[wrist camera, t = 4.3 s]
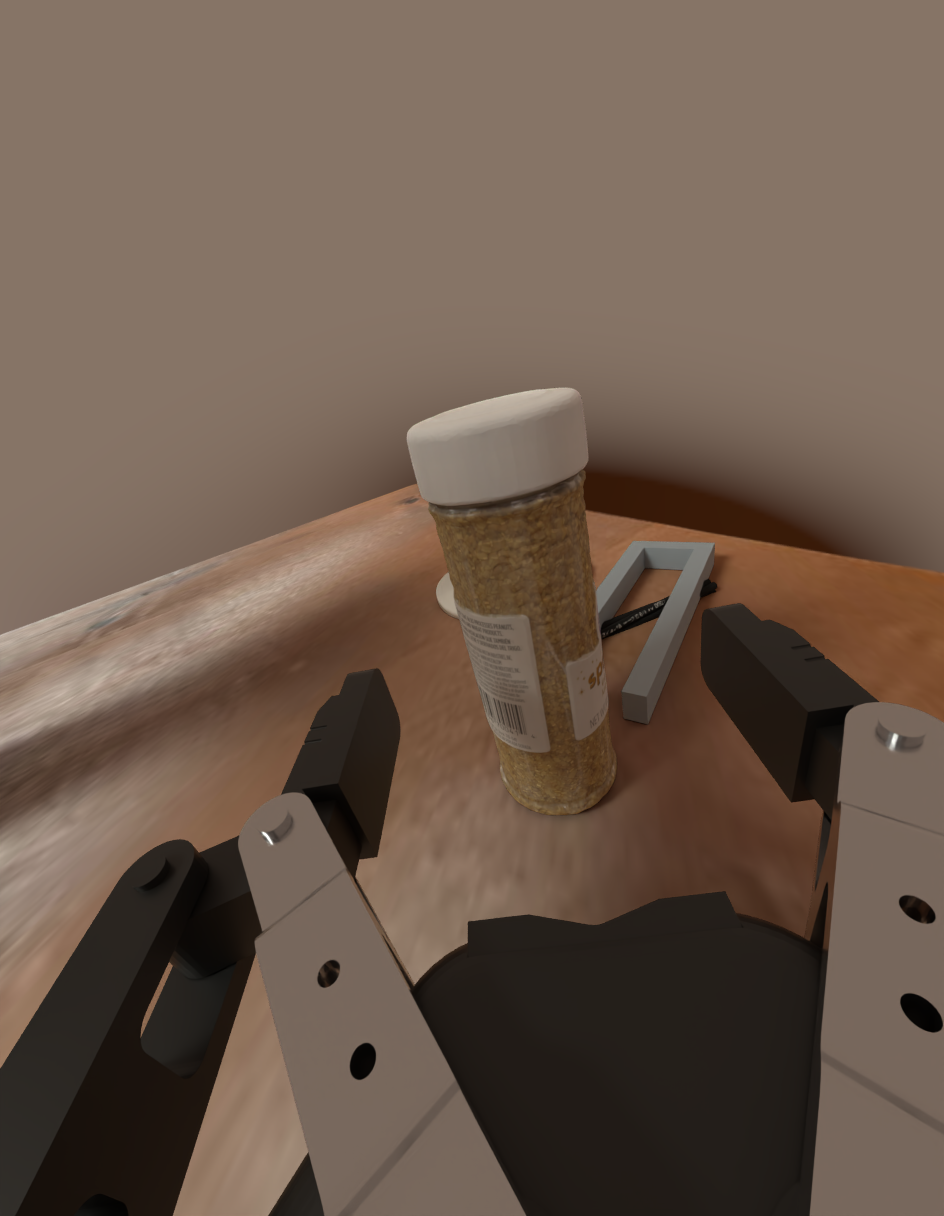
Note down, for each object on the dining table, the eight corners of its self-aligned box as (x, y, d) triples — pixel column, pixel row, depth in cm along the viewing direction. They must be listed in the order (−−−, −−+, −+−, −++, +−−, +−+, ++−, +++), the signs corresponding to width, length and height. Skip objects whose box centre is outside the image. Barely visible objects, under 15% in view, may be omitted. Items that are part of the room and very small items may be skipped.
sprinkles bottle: (643, 788, 16) (621, 377, 10) (528, 842, 15) (422, 431, 9) (578, 712, 20) (531, 384, 14) (484, 752, 19) (389, 423, 13)
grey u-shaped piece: (539, 697, 21) (534, 672, 21) (634, 560, 31) (633, 540, 31) (647, 724, 19) (646, 696, 18) (714, 564, 29) (714, 542, 28)
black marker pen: (531, 676, 23) (528, 661, 23) (523, 667, 24) (519, 652, 24) (717, 597, 26) (718, 582, 26) (704, 591, 27) (704, 576, 26)
